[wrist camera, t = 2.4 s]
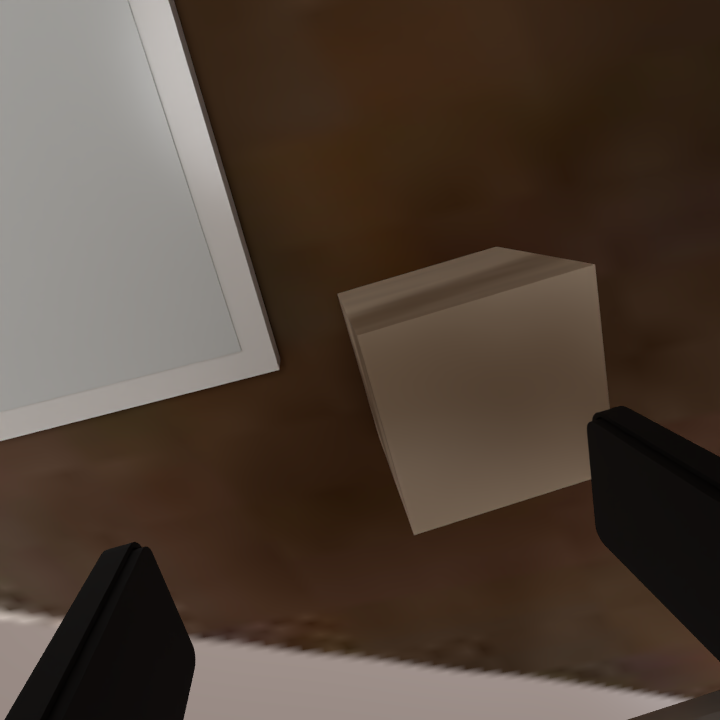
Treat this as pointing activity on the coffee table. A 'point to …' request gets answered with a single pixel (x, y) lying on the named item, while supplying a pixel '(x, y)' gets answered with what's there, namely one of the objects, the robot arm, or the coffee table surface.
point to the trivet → (114, 220)
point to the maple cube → (481, 378)
